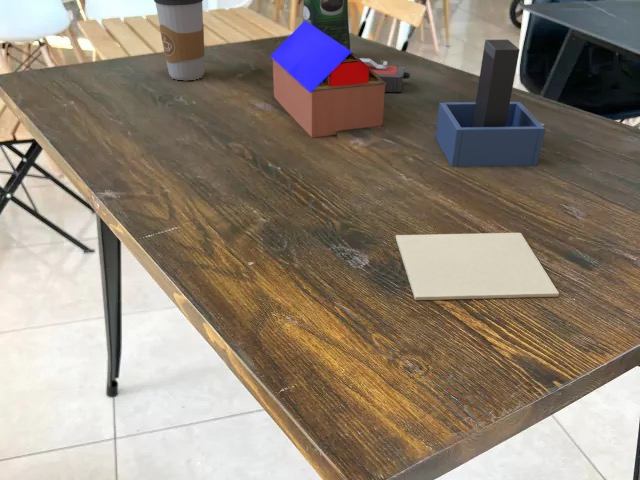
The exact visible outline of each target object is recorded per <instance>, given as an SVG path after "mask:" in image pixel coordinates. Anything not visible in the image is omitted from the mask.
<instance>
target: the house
mask: <svg viewBox="0 0 640 480" xmlns="http://www.w3.org/2000/svg"><path fill="white" fill-rule="evenodd" d="M270 57H271V60H272V77H273V98H274V99H275V101H277V102H278V103H279V104H280V106H281V107H282V108H283V109H284V111H286V112H287V113H288V114H289V115H290V116H291V117H292V118H293V120H294V121H295V122H296V123H297V124H298V125H299V126H300V127H301V128H302V129H303V130H304V131H305V132H306V134H308V136H310V138H320V137H329V136H337V135H338V132H339V131H349V130H357V129H364V128H373V127H382V126H383V125H384V124H383V123H384V111H385V98H386V97H385V94H386V92H385V85H386V82H385V81H384V80H383V79H381V78H380V77H379V76H378V75H377V74H376V73H375V72H374V71H373V70H371V69H370V68H369V67H368V66H367V65H368V64H367V63H364V62H362V61H361V60H360V59H359V57H358V56H357V55H356V54H355V53H354V52H353V51H351V49H350V50H348V49H347V48H345V47H344V46H342V45H341V44H339V43H338V42H336V41H335V40H333V39H332V38H330V37H329V36H327V35H326V34H324V33H323V32H321V31H320V30H318V29H317V28H315V27H314V26H312V25H311V24H309V23H308V22H306V21H304V22H303V21H302V23H300V24H299V26H298V27H297V28H296V29H295V30H294V31H293V32H292V33H291V34H290V35H289V36H288V37H287V38H286V39H285V40H284V41H283V42H282V43H281V44H280V45H279V46H278V48H276V49H275V51H273V52H272V54H271V55H270Z"/></svg>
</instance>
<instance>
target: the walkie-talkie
mask: <svg viewBox="0 0 640 480" xmlns="http://www.w3.org/2000/svg"><path fill="white" fill-rule="evenodd" d="M358 58H359V57H358ZM359 59H360V60H361V61H362V62H364V63H365V64H366V65H367V66H368V67H369V68H370V69H371V70H373V71H374V72H375V73H376V74H377V75H378V76H379V77H380V78H381V79H383V80H384V81H385V82H386V85H385V93H401V92H402V91H403V82H404V80H407V79H410V78H411V73H409V72H405V71H404V70H405V66H401V65H388V61H387V60H386V61H383V63H382V64H378V63H377V62H375V61H374V60H372V59H371V58H364V57H360V58H359Z"/></svg>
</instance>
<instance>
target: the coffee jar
mask: <svg viewBox="0 0 640 480" xmlns="http://www.w3.org/2000/svg"><path fill="white" fill-rule="evenodd" d="M302 7H303V8H302V9H303V10H302V23H303V22H304V21H306V22H308V23H309V24H311V25H312V26H314V27H315V28H317V29H318V30H320V31H321V32H323V33H324V34H326V35H327V36H329V37H330V38H332V39H333V40H335V41H336V42H338V43H339V44H341V45H342V46H344V47H345V48H347V49H348V50H350V51H351V37H350V25H349V24H350V23H349V8H348V7H349V0H303V6H302Z"/></svg>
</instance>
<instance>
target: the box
mask: <svg viewBox="0 0 640 480" xmlns="http://www.w3.org/2000/svg"><path fill="white" fill-rule="evenodd" d="M475 104H476V101H471V102H470V101H468V102H467V101H465V102H463V101H462V102H455V101H453V102H450V101H449V102H439V105H438V111H437V112H438V113H437V114H438V115H437V121H436V130H435V139H436V141H437V143H438V145H439V147H440V148H441V150H442V152H443V155H444V156H445V158H446V159H447V161H448V163H449V165H450V167H451V168H461V167H463V168H464V167H465V168H466V167H467V168H469V167H470V168H471V167H472V168H473V167H475V168H476V167H529V166H530V167H531V166H532V167H533V166H535V167H536V166H538V163H539V159H540V155H541V150H542V146H543V141H544V137H545V132H546V128H545V126H544V125H543V124H541V122H540V121H539V120H538V119H537V118H536V117H535V115H533V114H532V113H531V112H530V111H529V109H527V107H526V106H524V104H523V103H522V102H521V101H510V104H509V110H508V115H507V120H506V126H505V127H472V123H473V117H474V110H475Z"/></svg>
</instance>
